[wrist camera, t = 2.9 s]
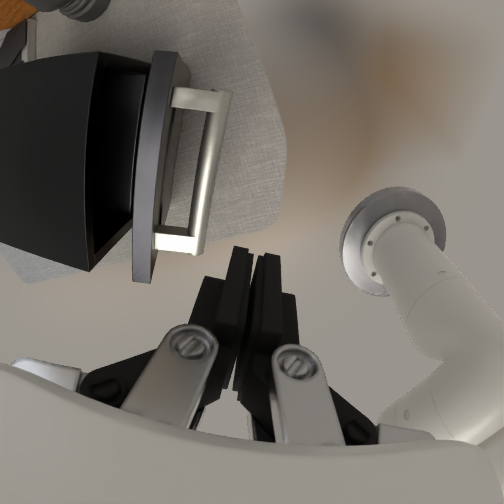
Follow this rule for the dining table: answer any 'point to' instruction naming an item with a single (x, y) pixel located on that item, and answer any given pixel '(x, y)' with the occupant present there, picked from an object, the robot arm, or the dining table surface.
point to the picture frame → (19, 44)
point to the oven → (69, 154)
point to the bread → (14, 13)
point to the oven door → (173, 163)
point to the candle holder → (72, 8)
